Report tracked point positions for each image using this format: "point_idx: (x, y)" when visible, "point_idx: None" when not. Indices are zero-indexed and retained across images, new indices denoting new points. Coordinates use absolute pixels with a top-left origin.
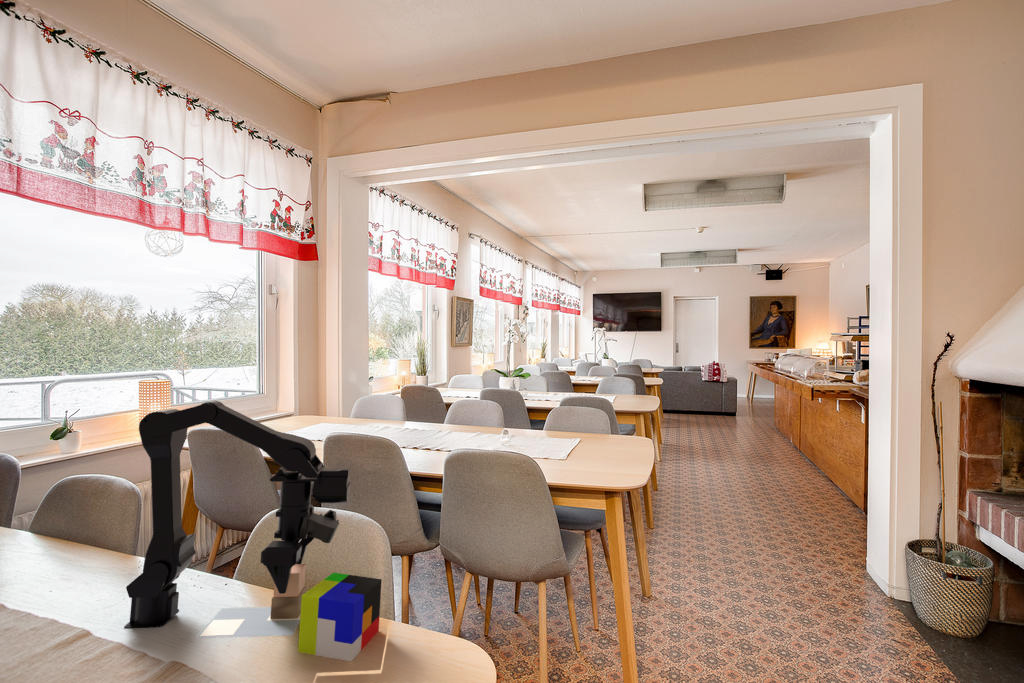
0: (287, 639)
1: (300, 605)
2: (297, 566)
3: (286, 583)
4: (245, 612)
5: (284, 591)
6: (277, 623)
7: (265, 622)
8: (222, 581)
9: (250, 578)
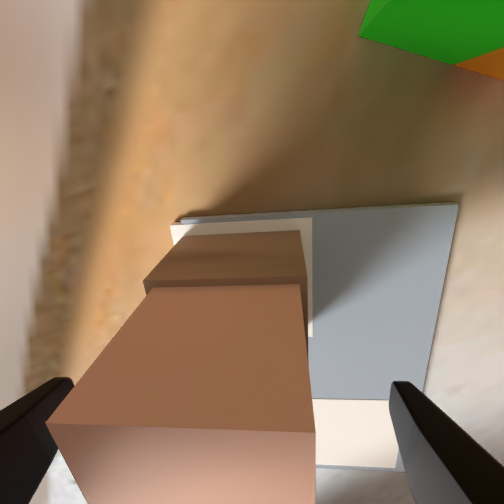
0: (464, 217)
1: (258, 247)
2: (132, 472)
3: (494, 462)
4: None
5: (422, 397)
6: (339, 295)
7: (325, 336)
8: (66, 491)
9: None
